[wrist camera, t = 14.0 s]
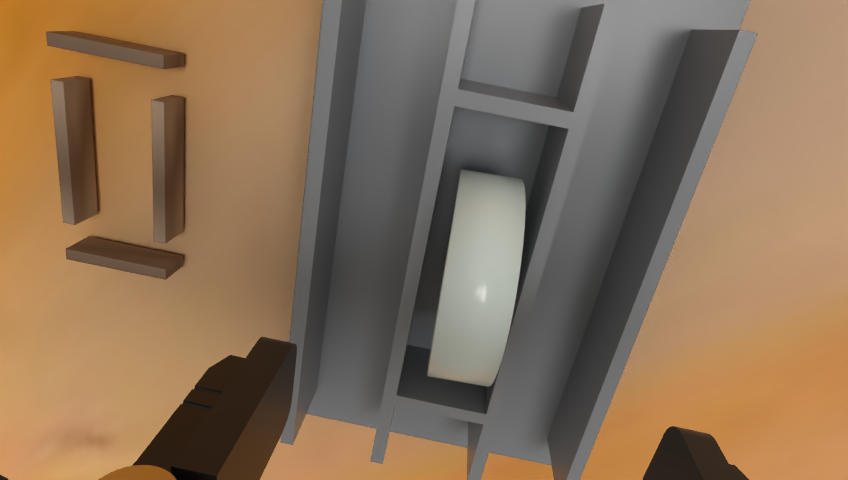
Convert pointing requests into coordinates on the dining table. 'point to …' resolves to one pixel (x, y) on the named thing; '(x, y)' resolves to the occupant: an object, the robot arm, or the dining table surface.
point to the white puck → (478, 278)
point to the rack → (544, 194)
